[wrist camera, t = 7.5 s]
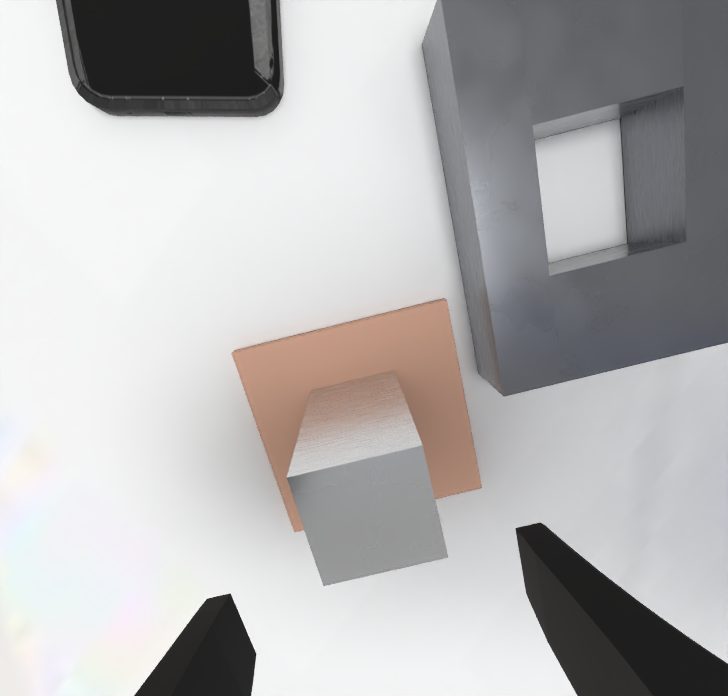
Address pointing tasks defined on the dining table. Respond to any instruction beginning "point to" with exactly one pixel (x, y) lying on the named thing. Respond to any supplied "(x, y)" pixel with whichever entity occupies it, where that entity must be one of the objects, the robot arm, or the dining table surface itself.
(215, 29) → the phone
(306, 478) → the steel peg
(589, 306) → the socket plate
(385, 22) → the dining table surface
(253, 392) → the mat
